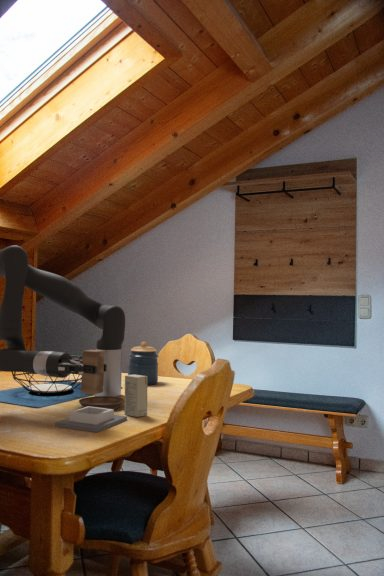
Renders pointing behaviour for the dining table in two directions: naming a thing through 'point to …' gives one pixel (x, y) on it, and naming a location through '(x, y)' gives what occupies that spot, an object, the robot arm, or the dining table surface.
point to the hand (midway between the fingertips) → (101, 368)
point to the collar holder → (91, 419)
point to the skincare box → (136, 395)
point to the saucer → (102, 402)
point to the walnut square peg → (93, 381)
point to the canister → (144, 363)
